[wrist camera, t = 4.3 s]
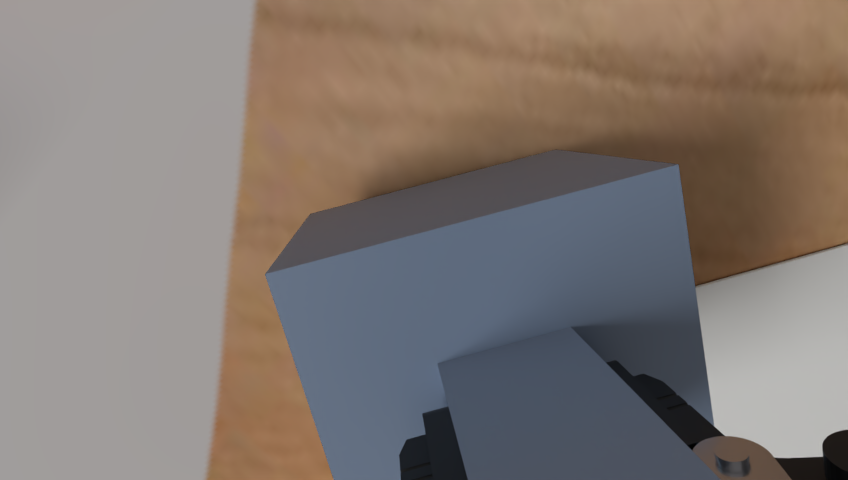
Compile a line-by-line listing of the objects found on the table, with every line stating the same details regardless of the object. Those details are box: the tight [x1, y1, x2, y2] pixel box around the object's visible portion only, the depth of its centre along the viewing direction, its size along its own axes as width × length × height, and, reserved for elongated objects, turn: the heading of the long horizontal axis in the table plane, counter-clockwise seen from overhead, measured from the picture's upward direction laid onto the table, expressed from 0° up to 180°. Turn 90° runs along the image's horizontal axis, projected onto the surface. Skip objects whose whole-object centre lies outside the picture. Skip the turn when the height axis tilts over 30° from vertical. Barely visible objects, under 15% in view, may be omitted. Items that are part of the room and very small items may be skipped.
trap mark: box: [695, 243, 848, 458], centre depth 27 cm, size 12×12×1 cm
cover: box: [265, 150, 721, 480], centre depth 15 cm, size 10×10×15 cm
